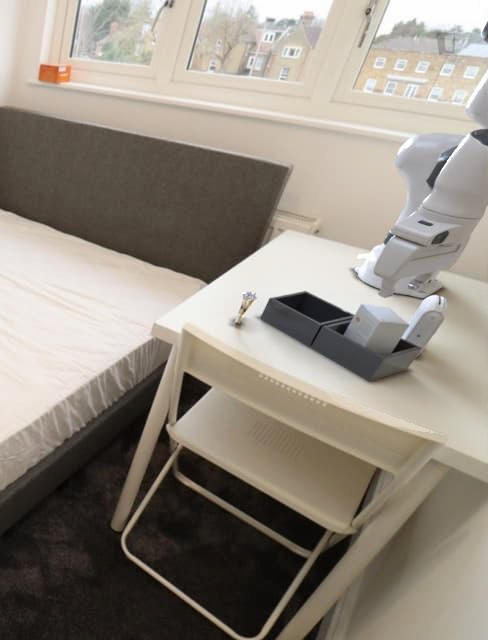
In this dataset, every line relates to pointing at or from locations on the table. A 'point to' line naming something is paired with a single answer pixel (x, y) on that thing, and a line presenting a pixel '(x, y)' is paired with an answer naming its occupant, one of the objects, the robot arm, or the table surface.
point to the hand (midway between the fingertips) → (398, 292)
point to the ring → (245, 305)
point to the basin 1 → (302, 315)
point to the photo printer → (426, 321)
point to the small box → (376, 328)
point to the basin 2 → (363, 353)
